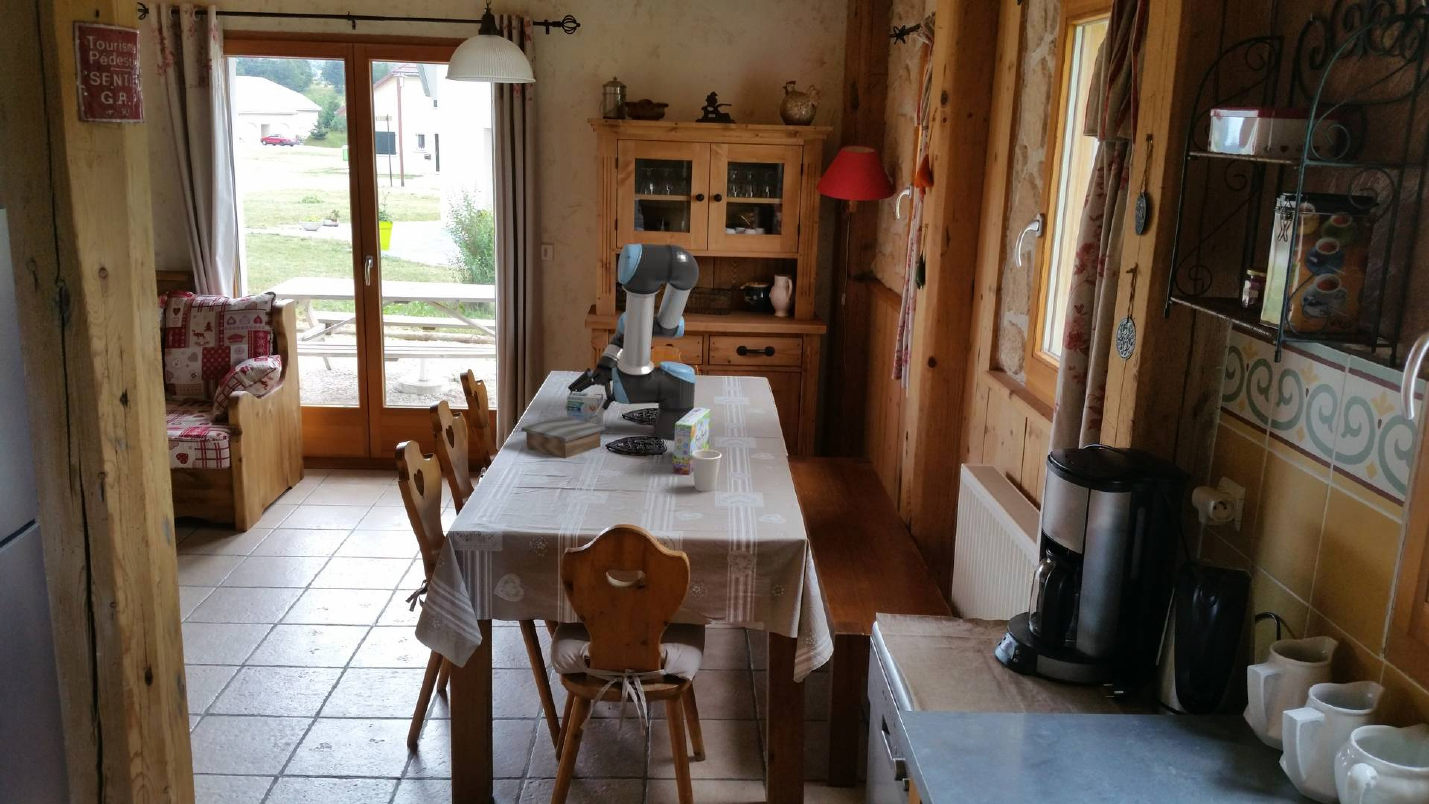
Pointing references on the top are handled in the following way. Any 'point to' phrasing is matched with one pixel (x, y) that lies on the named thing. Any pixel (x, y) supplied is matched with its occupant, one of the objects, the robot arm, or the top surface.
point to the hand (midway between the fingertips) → (581, 413)
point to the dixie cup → (705, 469)
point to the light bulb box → (584, 407)
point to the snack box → (690, 438)
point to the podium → (563, 436)
